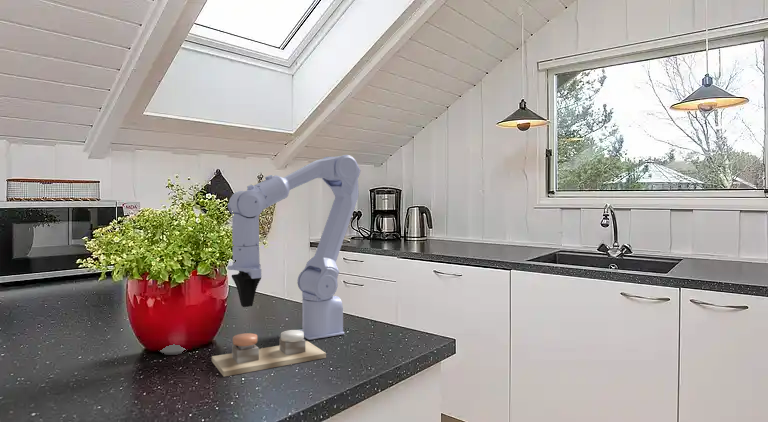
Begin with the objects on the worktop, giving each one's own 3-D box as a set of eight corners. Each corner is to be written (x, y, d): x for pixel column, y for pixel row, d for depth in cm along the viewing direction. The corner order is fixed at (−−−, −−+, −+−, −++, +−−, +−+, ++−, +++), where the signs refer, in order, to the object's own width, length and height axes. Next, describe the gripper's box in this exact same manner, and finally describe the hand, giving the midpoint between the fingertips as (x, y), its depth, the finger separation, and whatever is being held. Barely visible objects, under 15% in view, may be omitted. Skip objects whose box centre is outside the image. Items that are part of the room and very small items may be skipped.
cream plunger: (298, 346, 111) (298, 328, 111) (307, 352, 107) (307, 334, 106) (277, 349, 108) (277, 332, 108) (285, 355, 104) (285, 337, 104)
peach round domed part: (253, 350, 106) (253, 332, 105) (260, 356, 101) (260, 337, 101) (230, 353, 103) (230, 335, 103) (236, 360, 99) (236, 341, 99)
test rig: (307, 345, 115) (307, 329, 114) (326, 357, 106) (325, 341, 106) (211, 361, 104) (211, 344, 104) (223, 376, 95) (223, 358, 95)
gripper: (219, 243, 116) (220, 302, 116) (237, 249, 104) (238, 315, 104) (249, 241, 120) (250, 298, 120) (270, 247, 107) (271, 310, 108)
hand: (246, 306), depth 112 cm, fingers closed
